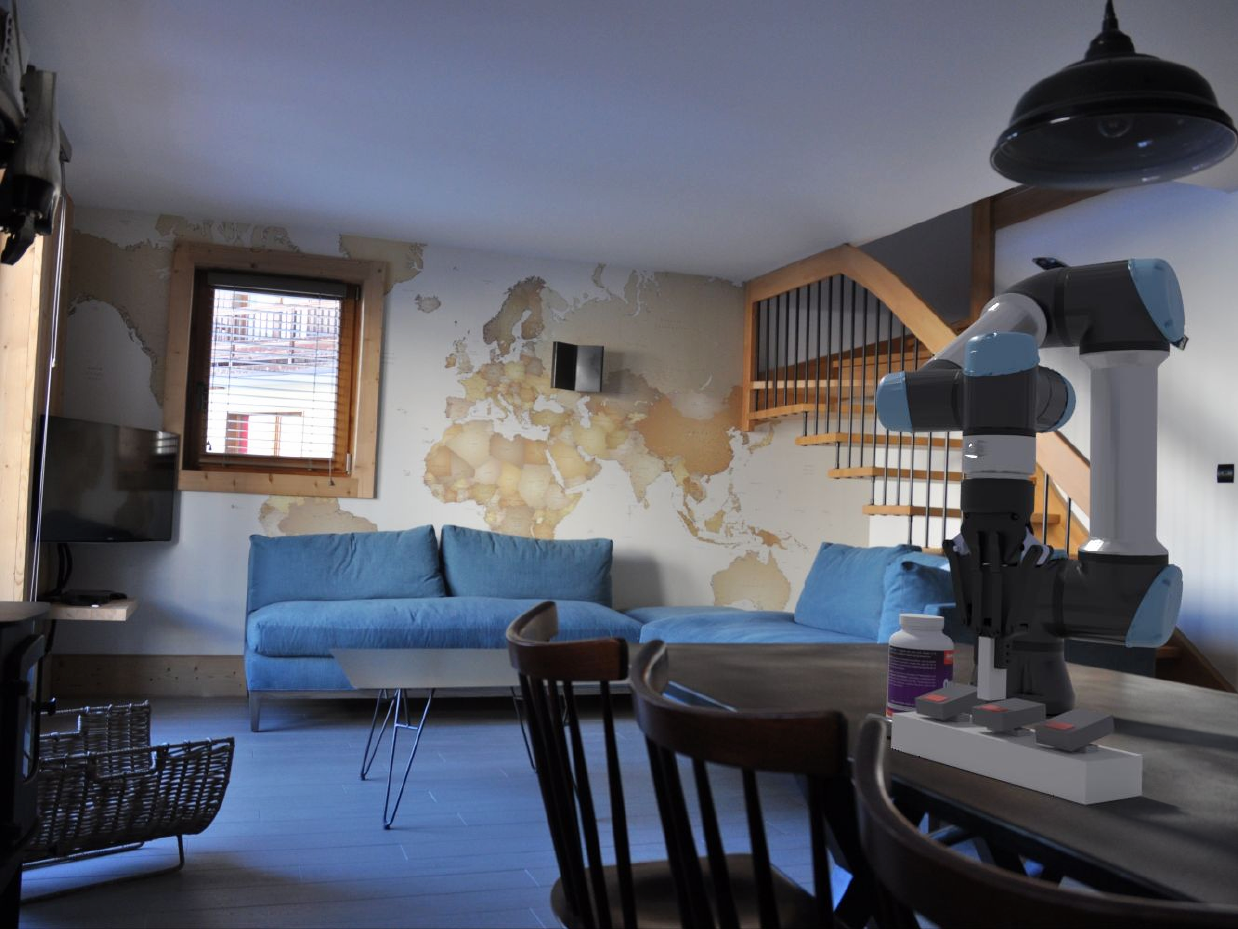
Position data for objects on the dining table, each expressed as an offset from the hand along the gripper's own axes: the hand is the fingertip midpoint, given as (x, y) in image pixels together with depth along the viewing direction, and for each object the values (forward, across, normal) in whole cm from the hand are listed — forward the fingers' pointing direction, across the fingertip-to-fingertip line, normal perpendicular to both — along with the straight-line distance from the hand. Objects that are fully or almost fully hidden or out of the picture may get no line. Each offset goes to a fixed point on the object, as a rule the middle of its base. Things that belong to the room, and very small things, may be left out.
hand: (991, 698), depth 112 cm
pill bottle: (+8, -20, +11) cm, 24 cm away
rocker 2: (+2, 0, +3) cm, 3 cm away
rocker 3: (+2, +8, +3) cm, 9 cm away
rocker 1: (+2, -8, +3) cm, 9 cm away
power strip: (+8, -4, +3) cm, 9 cm away
